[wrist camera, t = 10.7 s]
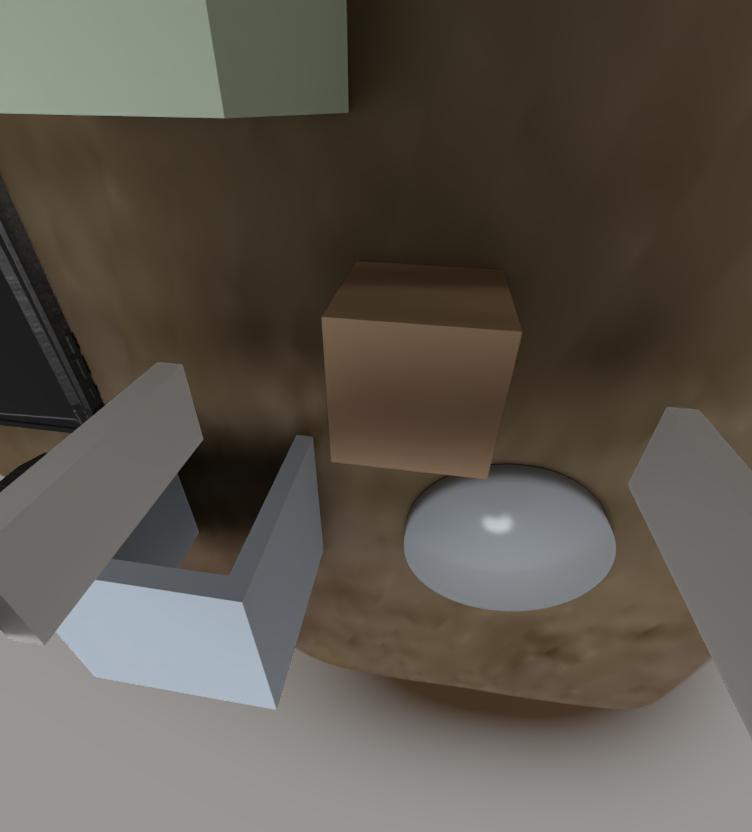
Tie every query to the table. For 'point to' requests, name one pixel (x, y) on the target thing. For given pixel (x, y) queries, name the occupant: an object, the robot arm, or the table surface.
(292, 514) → the blue cover
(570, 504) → the dish
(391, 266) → the walnut block
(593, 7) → the table surface
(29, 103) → the sage cover
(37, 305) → the phone
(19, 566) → the robot arm
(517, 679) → the table surface
